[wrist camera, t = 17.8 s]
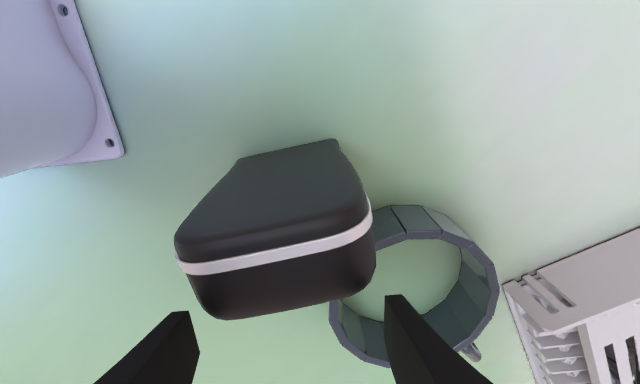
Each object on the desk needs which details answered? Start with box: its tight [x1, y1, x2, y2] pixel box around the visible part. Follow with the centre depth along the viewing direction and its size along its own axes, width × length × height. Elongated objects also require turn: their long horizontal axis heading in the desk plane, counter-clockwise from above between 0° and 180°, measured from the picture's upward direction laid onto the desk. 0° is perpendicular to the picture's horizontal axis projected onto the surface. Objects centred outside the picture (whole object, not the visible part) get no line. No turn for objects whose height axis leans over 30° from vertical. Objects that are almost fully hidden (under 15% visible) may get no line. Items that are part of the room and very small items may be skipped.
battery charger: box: [174, 139, 376, 320], centre depth 15 cm, size 7×4×11 cm, turn 102°
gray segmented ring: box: [327, 205, 500, 368], centre depth 22 cm, size 14×11×4 cm
